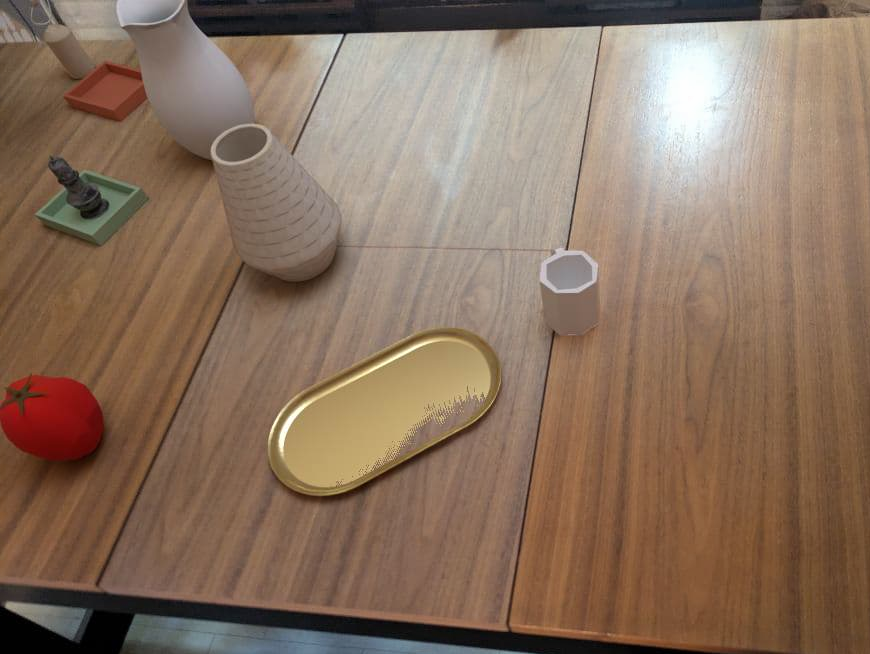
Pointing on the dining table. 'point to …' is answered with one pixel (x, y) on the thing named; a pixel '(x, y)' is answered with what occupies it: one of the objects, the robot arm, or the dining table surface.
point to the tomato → (51, 417)
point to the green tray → (100, 229)
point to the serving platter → (379, 409)
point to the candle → (68, 51)
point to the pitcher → (185, 74)
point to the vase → (274, 205)
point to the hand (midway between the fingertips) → (15, 19)
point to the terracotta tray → (108, 91)
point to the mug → (570, 292)
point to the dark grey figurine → (79, 190)
